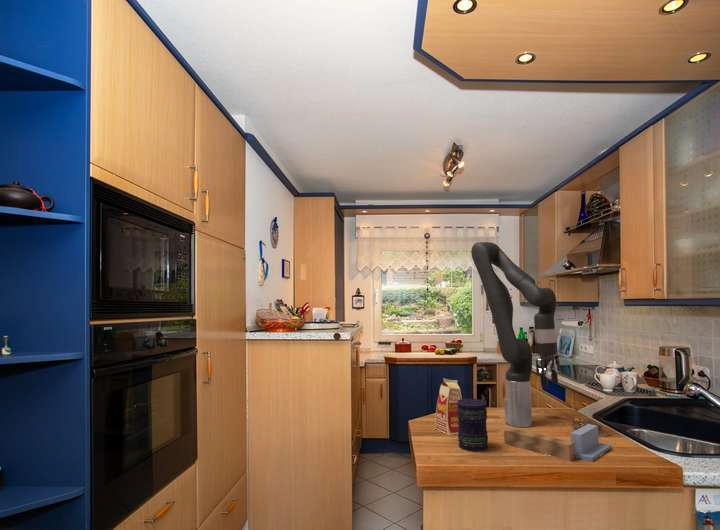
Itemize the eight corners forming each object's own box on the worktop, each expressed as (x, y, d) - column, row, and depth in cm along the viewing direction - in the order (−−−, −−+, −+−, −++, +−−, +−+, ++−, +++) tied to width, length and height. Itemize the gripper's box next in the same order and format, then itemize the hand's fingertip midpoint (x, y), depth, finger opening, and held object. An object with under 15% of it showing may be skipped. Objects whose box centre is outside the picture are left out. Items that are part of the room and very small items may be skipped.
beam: (504, 445, 153) (503, 430, 153) (510, 442, 156) (509, 427, 156) (569, 462, 137) (569, 445, 137) (575, 458, 140) (574, 442, 140)
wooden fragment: (615, 439, 157) (614, 436, 157) (581, 438, 159) (581, 435, 159) (592, 419, 182) (592, 416, 182) (563, 418, 184) (563, 415, 184)
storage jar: (487, 453, 145) (485, 406, 146) (456, 450, 148) (454, 404, 149) (489, 443, 154) (487, 399, 155) (460, 440, 157) (459, 397, 158)
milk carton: (448, 436, 163) (447, 380, 164) (433, 429, 171) (432, 376, 172) (468, 432, 167) (466, 378, 168) (452, 426, 175) (450, 374, 176)
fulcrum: (559, 453, 143) (558, 431, 144) (579, 441, 154) (578, 421, 154) (592, 461, 136) (590, 438, 136) (611, 449, 147) (610, 427, 147)
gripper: (544, 339, 174) (548, 381, 173) (527, 342, 165) (531, 387, 163) (564, 339, 169) (568, 383, 167) (547, 343, 159) (551, 389, 157)
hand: (549, 385), depth 165 cm, fingers open, 8 cm apart
